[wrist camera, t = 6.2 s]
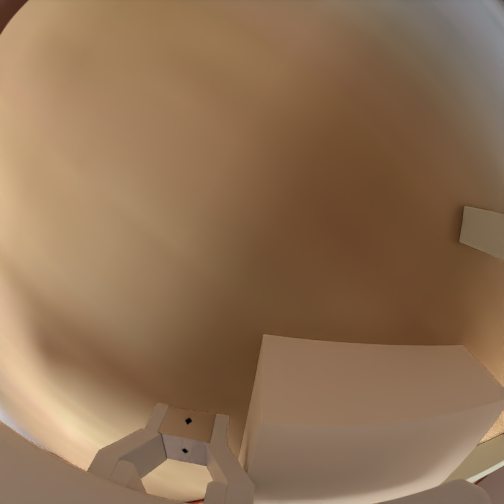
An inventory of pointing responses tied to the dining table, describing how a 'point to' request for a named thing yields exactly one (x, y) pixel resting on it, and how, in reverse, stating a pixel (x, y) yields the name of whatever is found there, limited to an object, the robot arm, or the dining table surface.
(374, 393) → the carton
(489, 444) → the u-shaped frame
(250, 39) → the dining table surface
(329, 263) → the dining table surface
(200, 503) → the cracker box
